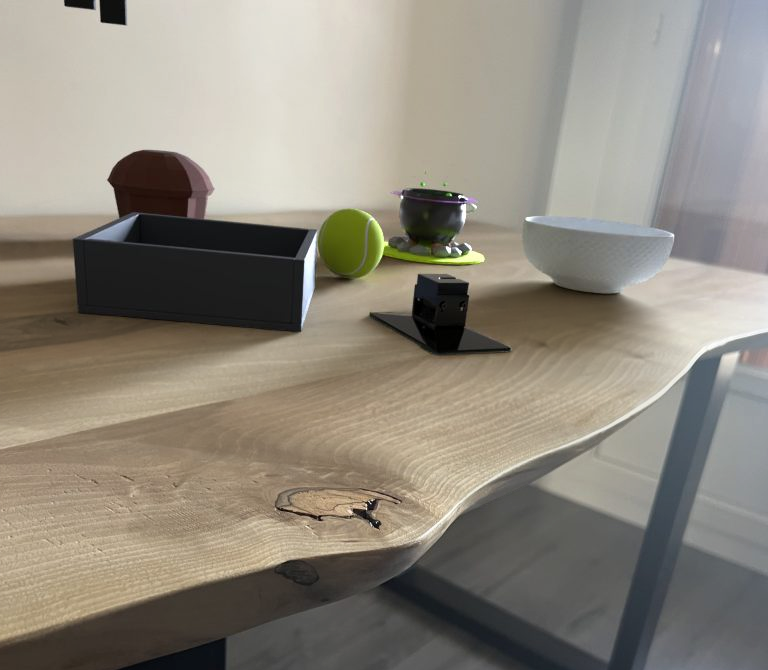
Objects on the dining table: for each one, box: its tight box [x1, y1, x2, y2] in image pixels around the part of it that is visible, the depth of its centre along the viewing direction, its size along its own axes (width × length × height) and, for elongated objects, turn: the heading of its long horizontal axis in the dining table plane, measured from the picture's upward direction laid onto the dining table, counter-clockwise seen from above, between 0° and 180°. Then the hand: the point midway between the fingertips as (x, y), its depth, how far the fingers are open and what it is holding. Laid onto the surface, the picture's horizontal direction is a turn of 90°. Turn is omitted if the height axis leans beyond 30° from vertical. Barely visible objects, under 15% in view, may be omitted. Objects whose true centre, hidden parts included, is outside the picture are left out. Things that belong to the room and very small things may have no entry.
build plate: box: [368, 273, 512, 356], centre depth 68 cm, size 12×7×5 cm, turn 27°
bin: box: [72, 212, 319, 333], centre depth 71 cm, size 18×18×6 cm
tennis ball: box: [317, 208, 385, 279], centre depth 86 cm, size 7×7×7 cm
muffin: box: [106, 149, 215, 219], centre depth 93 cm, size 12×11×10 cm
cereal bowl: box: [521, 215, 675, 294], centre depth 95 cm, size 17×17×7 cm
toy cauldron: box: [382, 161, 485, 265], centre depth 105 cm, size 15×15×11 cm
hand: (98, 17), depth 83 cm, fingers open, 13 cm apart
